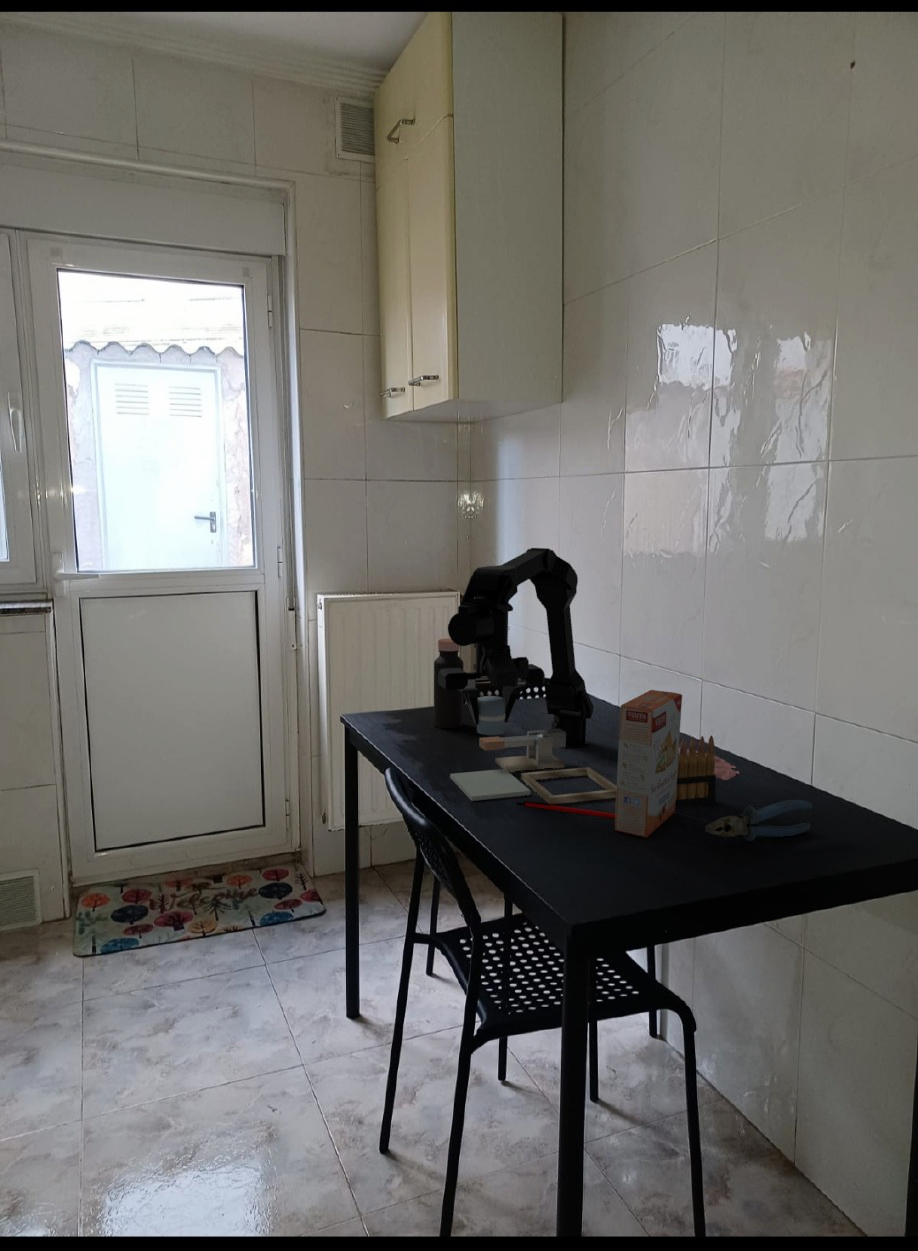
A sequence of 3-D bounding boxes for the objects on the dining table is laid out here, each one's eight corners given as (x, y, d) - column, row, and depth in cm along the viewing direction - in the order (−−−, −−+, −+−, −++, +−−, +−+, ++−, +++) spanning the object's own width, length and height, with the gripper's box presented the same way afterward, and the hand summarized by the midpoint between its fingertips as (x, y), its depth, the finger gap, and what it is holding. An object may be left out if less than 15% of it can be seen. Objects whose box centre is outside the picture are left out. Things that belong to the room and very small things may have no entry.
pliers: (710, 852, 133) (712, 815, 132) (701, 847, 135) (703, 810, 134) (813, 835, 140) (816, 799, 139) (804, 830, 142) (806, 795, 141)
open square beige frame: (588, 773, 170) (588, 767, 169) (622, 797, 156) (623, 790, 156) (520, 779, 165) (520, 773, 165) (550, 804, 152) (550, 798, 152)
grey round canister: (499, 726, 163) (499, 695, 162) (509, 734, 158) (509, 701, 157) (472, 728, 162) (473, 696, 161) (481, 736, 157) (482, 703, 156)
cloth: (741, 787, 164) (742, 775, 164) (623, 774, 171) (624, 762, 171) (744, 757, 183) (744, 746, 183) (638, 746, 190) (638, 735, 190)
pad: (505, 773, 169) (505, 769, 169) (530, 795, 157) (530, 790, 157) (450, 778, 166) (450, 773, 166) (471, 801, 154) (471, 796, 154)
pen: (517, 804, 153) (518, 798, 153) (627, 820, 146) (628, 813, 146) (516, 806, 152) (516, 800, 152) (626, 822, 145) (627, 815, 145)
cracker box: (649, 840, 137) (654, 709, 134) (612, 832, 140) (617, 704, 137) (678, 813, 149) (683, 692, 146) (644, 806, 152) (648, 687, 149)
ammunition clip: (660, 808, 151) (663, 740, 149) (655, 804, 153) (658, 737, 151) (715, 803, 154) (719, 736, 152) (709, 799, 156) (713, 733, 154)
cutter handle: (559, 742, 178) (559, 728, 177) (566, 747, 174) (566, 732, 174) (479, 749, 173) (479, 734, 172) (485, 754, 169) (485, 739, 169)
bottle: (445, 720, 208) (445, 636, 205) (468, 724, 204) (469, 639, 201) (427, 726, 203) (428, 640, 200) (451, 730, 199) (452, 643, 196)
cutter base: (550, 757, 180) (551, 728, 179) (564, 767, 173) (565, 737, 172) (495, 762, 176) (495, 733, 175) (507, 772, 169) (507, 742, 168)
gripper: (455, 648, 147) (454, 738, 149) (558, 643, 153) (555, 730, 155) (437, 637, 157) (436, 722, 160) (533, 633, 163) (532, 715, 165)
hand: (490, 723), depth 160 cm, fingers closed on grey round canister, 5 cm apart
